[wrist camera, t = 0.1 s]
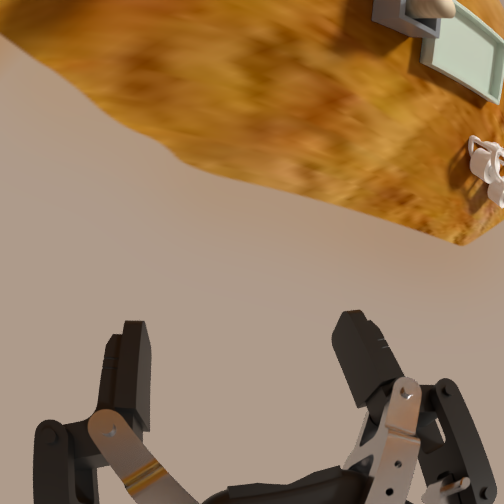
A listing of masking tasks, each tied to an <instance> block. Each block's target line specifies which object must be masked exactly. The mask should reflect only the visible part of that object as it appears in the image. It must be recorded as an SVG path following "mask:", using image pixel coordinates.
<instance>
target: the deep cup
mask: <svg viewBox="0 0 504 504" xmlns="http://www.w3.org/2000/svg"><path fill="white" fill-rule="evenodd" d="M405 7H406V0H374V2H373V11H372V20H371V21H374V22H376V23H379V24H381V25H384V26H386V27H389V28H391V29H393V30H396V31H398V32H400V33H402V34H405V35H407V36H409V37H420V38H436V39H439V36H440V26H441V18H416V19H412V18H410V17H408V16H406V15H405Z"/></svg>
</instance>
